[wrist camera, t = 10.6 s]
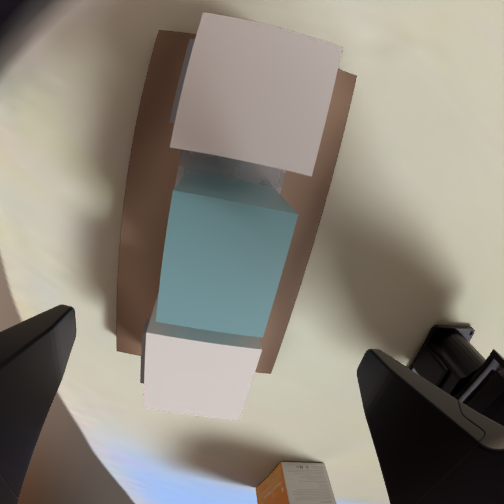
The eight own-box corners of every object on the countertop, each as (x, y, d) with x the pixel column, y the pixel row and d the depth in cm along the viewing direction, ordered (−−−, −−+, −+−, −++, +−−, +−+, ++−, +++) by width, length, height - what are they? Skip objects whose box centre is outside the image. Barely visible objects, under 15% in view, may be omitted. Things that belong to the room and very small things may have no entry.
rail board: (347, 78, 18) (356, 75, 17) (268, 361, 26) (270, 373, 24) (163, 36, 16) (159, 29, 15) (121, 339, 24) (116, 350, 22)
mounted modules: (311, 65, 16) (342, 47, 11) (234, 369, 23) (239, 420, 18) (199, 40, 15) (193, 10, 10) (148, 356, 22) (137, 406, 17)
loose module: (274, 187, 18) (298, 214, 13) (250, 280, 20) (262, 337, 15) (187, 170, 18) (172, 190, 12) (171, 267, 20) (155, 321, 14)
